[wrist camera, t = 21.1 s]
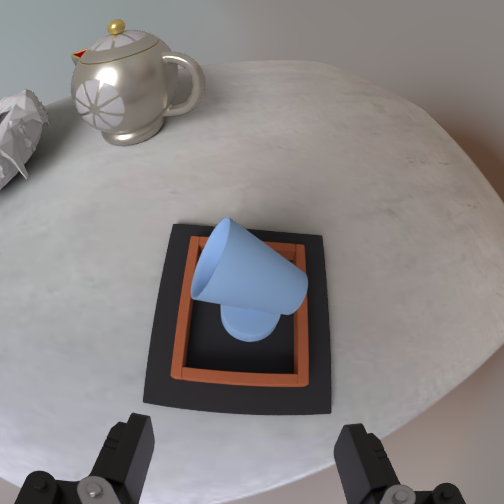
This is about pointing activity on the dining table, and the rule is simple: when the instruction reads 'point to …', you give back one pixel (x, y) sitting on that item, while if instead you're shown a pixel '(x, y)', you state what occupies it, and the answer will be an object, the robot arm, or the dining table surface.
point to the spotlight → (247, 282)
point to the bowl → (19, 132)
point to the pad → (234, 350)
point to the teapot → (130, 84)
